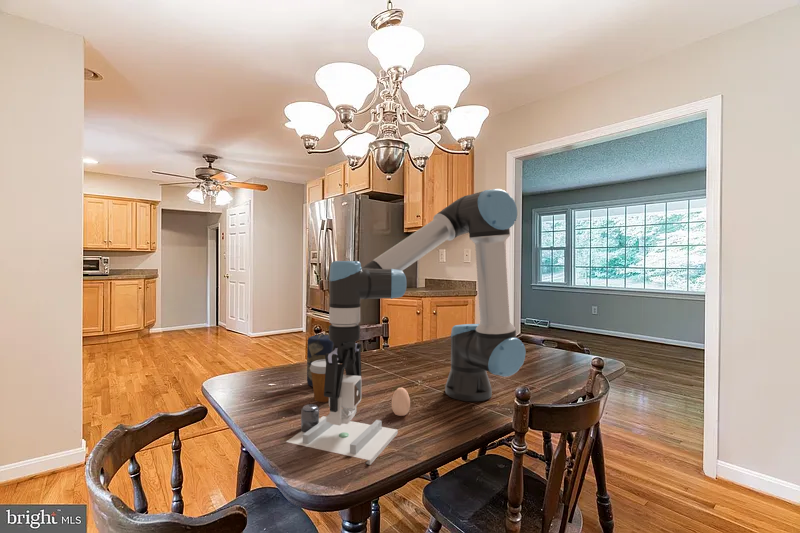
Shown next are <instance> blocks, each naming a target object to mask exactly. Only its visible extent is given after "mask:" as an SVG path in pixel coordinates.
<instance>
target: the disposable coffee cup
mask: <svg viewBox="0 0 800 533" xmlns="http://www.w3.org/2000/svg"><path fill="white" fill-rule="evenodd" d="M338 364H341V363H338ZM310 371H311V374H312V382H313V387H312V390H313V398H314V401H315V402H319V403H327V402H328V403H329V397H325V396H324V386H325V371H326V360H325V359H324V360H317V361H314V362H312V363H311V366H310Z"/></svg>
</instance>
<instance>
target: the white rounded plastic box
mask: <svg viewBox="0 0 800 533" xmlns="http://www.w3.org/2000/svg"><path fill="white" fill-rule="evenodd" d="M361 377H362V375H361V376H358V375H357V376H354V375H346V374H343V380H342V385H341V391H340V397H342V418H341V424H348V423H349V422H350V421H352V420H353V418H354V417H355V415H356V413H355V410H349V409H348V408H352V409H354V408H355V407H356V406H358V405H359V404H360V403H361V401H362V379H361ZM328 406H329V407H328V408H330V398H329V402H328ZM325 417H326V422H330V412H329V413H328V414H327V415H326V416H325Z"/></svg>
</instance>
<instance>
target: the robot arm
mask: <svg viewBox="0 0 800 533" xmlns="http://www.w3.org/2000/svg"><path fill="white" fill-rule="evenodd" d="M517 219H518V208H517V204H516V202H515V200H514V198H513V196H511V195H510V194H509V192H507V191H506V190H504V189H501V188H493V189H486V190H483V191H479V192H475V193H472V194H471V193H470V194H467V195H463V196H461V197H460V198H458V199H456V200H455V201H453V202H452V203H450V204H449V205H447V206H446V207H444V208H443V209H441V210H440V211H438V212H437V213H436V214H434V216H433V218H432V220H431V221H429V222H428V223H426V224H425V225H424V226H422V227H420V228H419V229H417V230H416V231H415V232H413V233H411V234H410V235H408V236H407V237H405V238H404V239H402V240H401V241H400V242H398V243H397V244H395V245H394V246H392V247H390V248H389V249H387V250H386V251H384V252H383V253H381V254H380V255H378V256H377V257H375V258H374V259H372V260H371V261H369V262H367V263H366V264H365V265H363V266H362V263H361V262H360V260H359V261H358V260H334V261H332V262H331V264H330V267H329V277H328V281H329V282H328V284H329V285H328V286H329V289H328V291H329V310H328V313H329V315H328V316H329V317H328V318H329V320H328V322H329V324H330V325H329V326H328V335H329V340H330V341H332V342H333V343H334V345H333V349H332V352H331V353H330V354H329V353H326V355H325V360H326V371H325V386H324V396H325V397H329V398H330V407H329V413H330V424H334V425H339V426H340V425H341V418H342V409H343V408H342V397H340V391H341V385H342V380H343V375H354V376H361V380H362V379H363V378H362V359H361V358H362V356H361V355H362V354H361V352H362V351H361V350H362V343H358V342H357V341H360V339H361V326H360V323H361V300H368V299H369V300H370V299H371V300H372V299H375V300H376V299H377V300H378V299H391V300H392V299H397V298H398V299H399V298H401V297H403V296H404V295H405V293H406V291H407V277H406V274H405V273H404V270H405V269H407V268H408V267H410V266H412V265H413V264H414V263H416V262H417V261H419V260H420V259H422V258H424V256H426V255H427V254H428V253H431V251H433V250H434V249H436V248H437V247H439V246H440V245H442V244H443V243H444V242H446V241H449V242H450V241H453V240H454V239H456V238H457V237H459V236H463V235H466V234H468V235H469V236H468V237H469V240H471V241H472V243H474V245H475V246H474V248H475V249H474V250H475V263H476V276H477V277H476V278H477V291H478V292H477V293H478V307H479V308H478V309H479V310H478V311H479V323H465V324H455V325H453V326H452V327H451V333H450V370H449V374H448V376H447V380H446V383H445V386H444V388H445V389H444V390H445V395H447V396H448V397H450V398H451V399H454V400H458V401H461V402H462V401H463V402H482V401H487V400H490V399H491V397H493V396H492V392H493V390H492V385H491V382H490V379H489V376H488V372H489V373H491V374H492V375H495V376H500V377H505V378H507V377H510V376H513V375H515V374H516V373H518V371H520V369H521V367H522V366H523V365H524V362H525V359H526V354H527V352H526V346H525V344H524V343H523V342H522V340H520V338H518V337H517V332H516V327H515V325H513V323H511V318H510V316H511V315H510V302H509V286H508V274H507V273H508V271H507V270H508V269H507V255H506V254H507V253H506V251H507V250H506V241H507V239H508V238H509V237H510V236H511V232H510V230H511V229H510V228H512V227H513V226H514V225H515V222H516V221H517ZM356 342H357V343H356ZM338 363H340V364H338ZM344 373H345V374H344ZM357 406H358V405H357ZM357 406H356V407H355V408H354V409H352V408H348V409H349V410H355V414H356V413H357Z"/></svg>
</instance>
